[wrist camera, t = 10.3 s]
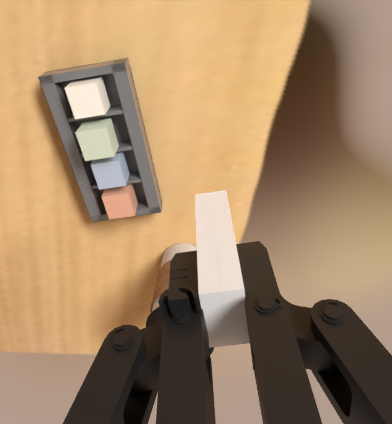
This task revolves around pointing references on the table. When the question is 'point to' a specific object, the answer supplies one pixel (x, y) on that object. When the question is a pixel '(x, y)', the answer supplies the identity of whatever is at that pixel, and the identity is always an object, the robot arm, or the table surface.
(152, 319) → the coffee cup
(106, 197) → the key terracotta
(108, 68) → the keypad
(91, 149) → the key sage
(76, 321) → the table surface
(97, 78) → the key cream
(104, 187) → the key slate
